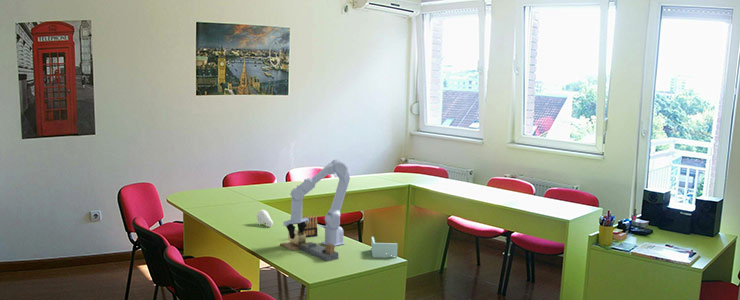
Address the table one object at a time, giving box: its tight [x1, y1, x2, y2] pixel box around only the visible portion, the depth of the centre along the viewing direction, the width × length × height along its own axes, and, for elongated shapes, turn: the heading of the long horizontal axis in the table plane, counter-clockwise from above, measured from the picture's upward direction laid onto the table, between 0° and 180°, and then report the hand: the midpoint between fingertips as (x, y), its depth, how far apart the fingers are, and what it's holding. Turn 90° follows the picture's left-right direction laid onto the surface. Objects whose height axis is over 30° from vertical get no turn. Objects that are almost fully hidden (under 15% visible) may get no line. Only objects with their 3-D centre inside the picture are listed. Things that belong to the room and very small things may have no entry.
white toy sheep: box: [256, 209, 274, 228], centre depth 327 cm, size 6×8×12 cm
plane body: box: [299, 241, 339, 262], centre depth 277 cm, size 7×22×7 cm, turn 42°
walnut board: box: [279, 241, 300, 251], centre depth 290 cm, size 12×11×1 cm
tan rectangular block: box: [287, 229, 307, 245], centre depth 288 cm, size 4×9×5 cm, turn 42°
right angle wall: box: [370, 236, 399, 259], centre depth 282 cm, size 12×12×8 cm
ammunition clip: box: [302, 214, 318, 239], centre depth 306 cm, size 11×2×12 cm, turn 122°
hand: (295, 237), depth 289 cm, fingers closed on tan rectangular block, 4 cm apart
